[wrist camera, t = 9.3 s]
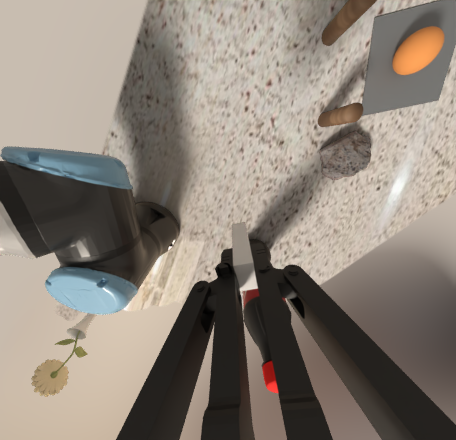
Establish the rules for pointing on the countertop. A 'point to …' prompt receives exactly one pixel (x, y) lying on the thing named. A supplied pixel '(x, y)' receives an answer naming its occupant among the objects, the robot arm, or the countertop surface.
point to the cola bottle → (260, 327)
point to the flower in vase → (53, 370)
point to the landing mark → (386, 48)
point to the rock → (346, 156)
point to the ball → (418, 50)
